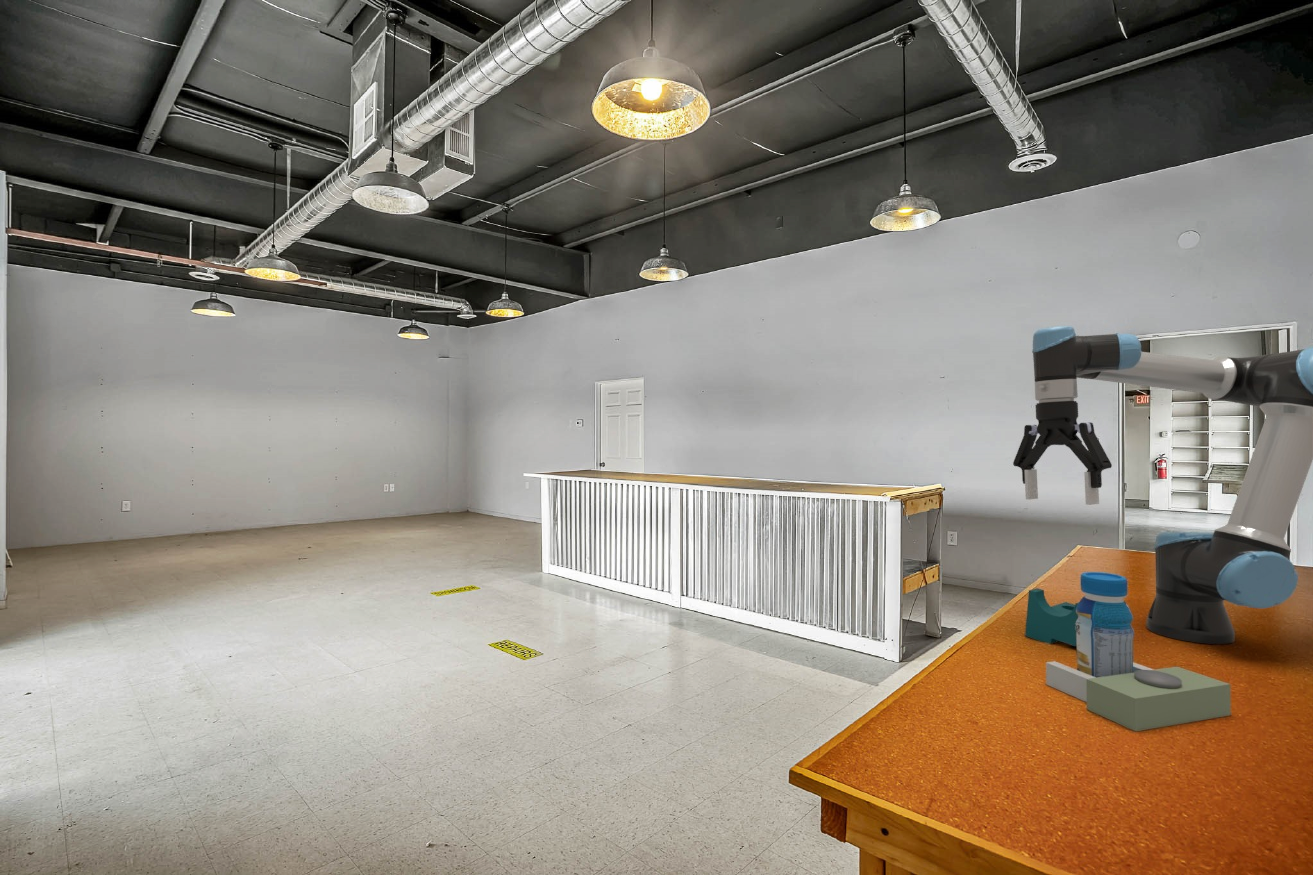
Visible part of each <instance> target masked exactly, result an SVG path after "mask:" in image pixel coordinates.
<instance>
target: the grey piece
mask: <svg viewBox="0 0 1313 875" xmlns="http://www.w3.org/2000/svg"><path fill="white" fill-rule="evenodd" d="M1045 664H1046V665H1045V680H1046V681H1045V685H1047V686H1049V687H1051V688H1053V689H1056V690H1058V691H1061V692H1063V693H1065V694H1066V695H1070V696H1071V697H1074V698H1076V699H1078V700H1080V701H1083V702H1085V703H1086V710H1087V711H1090V712H1092V713H1094V714H1096V715H1098V716H1101V717H1102V718H1105V719H1108V720H1110V721H1112V722H1114V723H1115V724H1116V723H1117V724H1118V725H1120V726H1123V727H1125V728H1127V729H1129V730H1131V731H1133V732H1140V731H1146V730H1152V729H1157V728H1164V727H1169V726H1176V725H1183V724H1187V723H1194V722H1199V721H1206V720H1209V719H1210V720H1212V719H1217V718H1222V717H1229V716H1231V715H1232V711H1231V710H1232V709H1231V708H1232V706H1231V703H1232V702H1231V701H1232V700H1231V699H1232V698H1231V696H1232V695H1231V694H1232V693H1231V690H1232V689H1231V683H1228V682H1225V681H1222V680H1219V679H1216V678H1213V677H1210V676H1207V675H1204V674H1201V673H1198V672H1195V671H1192V670H1188V669H1185V668H1183V667H1179V666H1173V667H1172V666H1171V667H1163V668H1156V669H1154V668H1150V667H1148V666H1145V665H1142V664H1140V663H1136V662H1134V661H1133V673H1126V674H1119V675H1112V676H1105V677H1097V678H1096V677H1094V676H1091V675H1088V674H1086V673H1083V672H1081V671H1078V670H1077V668H1073V667H1071V666H1068V665H1065V664H1063V663H1060V662H1057V661H1047V662H1046V663H1045Z"/></svg>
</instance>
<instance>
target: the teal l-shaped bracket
mask: <svg viewBox="0 0 1313 875" xmlns="http://www.w3.org/2000/svg"><path fill="white" fill-rule="evenodd" d="M1027 596H1028V597H1027V608H1026V609H1027V611H1026V617H1025V618H1026V620H1025V631H1024V637H1027V638H1030V639H1033V640H1035V641H1039V642H1041V643H1046V644H1050V645H1052V644H1055V643H1057V642H1062V643H1064V644H1068V645H1070V646H1074V647H1076V648H1077V639H1076V628H1075V623H1076V621H1077V619H1078V615H1077V613H1076V608H1077V605H1078V603H1079V602H1080V601H1079V602H1075V603H1071V602H1068V601H1065V602H1062V603H1058V604H1055V605H1050V604H1049V603H1048V601H1047V599H1046V597H1045V589H1041V588H1038V587H1037V588H1033V589H1028V595H1027Z"/></svg>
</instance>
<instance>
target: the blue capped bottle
mask: <svg viewBox="0 0 1313 875" xmlns="http://www.w3.org/2000/svg"><path fill="white" fill-rule="evenodd" d="M1080 590H1081V593H1082V594H1084V595H1083V597H1081V599H1080V600H1079V603H1078V602H1077V603H1078V605H1077V608H1076V613H1077V615H1078V619H1077V621H1076V623H1075V628H1076V639H1077V647H1076V670H1078V671H1081V672H1083V673H1086V674H1088V675H1091V676H1094V677H1096V678H1097V677H1105V676H1112V675H1119V674H1126V673H1133V662H1134V638H1135V630H1134V628H1133V626H1132V622H1133V620H1134V616H1133V613H1132V611H1131V608H1130V607H1129V605H1128V604H1127V603H1126V601H1125V600H1124V599H1125V598H1126V597H1127V596H1128V580H1127V578H1126V577H1125V576H1123V575H1120V574H1117V573H1111V572H1102V571H1085V572H1082V573H1081V574H1080Z"/></svg>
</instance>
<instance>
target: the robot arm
mask: <svg viewBox="0 0 1313 875" xmlns="http://www.w3.org/2000/svg"><path fill="white" fill-rule="evenodd" d="M1141 344H1142V343H1141V341H1140V339H1139V338H1138V337H1137V335H1135V334H1132V333H1118V332H1117V333H1109V334H1097V335H1094V334H1093V335H1077V334H1076V332H1075V328H1074V327H1073V326H1072V325H1071V326H1069V325H1058V326H1051V327H1045V328H1040V329H1038V330H1036V331H1034V333H1033V337H1032V351H1031V352H1032V360H1033V371H1034V372H1033V373H1034V377H1033V378H1034V399H1035V401H1038V403H1036V404H1035V419H1036V420H1037V422H1038V424H1026V425H1024V428H1023V429H1024V430H1023V437H1022V438H1021V439H1022V440H1021V441H1020V444H1019V447H1018V450H1017V452H1016V454H1015V457H1014V460H1013V462H1012V465H1013V466H1014V467H1017V468H1020V469H1021V472H1022V473H1021V476H1022V480H1021V481H1022V483H1023V485H1024V486H1025V488H1024V489H1025V500H1028V501H1029V500H1038V499H1039V492H1038V469H1037V468H1035V465H1036V464H1037V463H1038V462H1039V460H1040V459H1041V457H1042V456H1043V454H1044V453H1045V452H1046V450H1047V449H1048V448H1049V447H1051V446H1065V447H1067V448H1068V449H1070V450H1071V452H1072V453H1073V454H1074V455H1075V456H1076V457H1077V459H1078V460H1079V461H1080V463H1082V464H1083V465H1084V467H1085V468H1086V469H1087V470H1086V471H1084V473H1083V476H1084V492H1085V493H1084V495H1085V497H1084V498H1085V499H1084V500H1085V505H1087V506H1089V505H1099V504H1100V496H1099V495H1100V493H1099V489H1100V488H1102V486H1103V483H1102V478H1103V477H1102V472H1103V471H1104V470H1107V469H1111V468H1112V466H1113V465H1112V462H1111V460H1110V458H1109V456H1108V455H1107V453H1106V451H1105V449H1104V448H1103V446H1102V444H1101V442H1100V441H1099V438H1098V437H1097V435H1096V433H1095V428H1094V423H1093V422H1089V421H1088V422H1080V423H1079V424H1078V421H1077V420H1078V419H1079V402H1077V400H1076V401H1075V399H1077V398H1078V397H1079V395H1078V380H1077V379H1084V380H1085V379H1086V380H1097V381H1103V382H1111V383H1119V384H1127V385H1134V386H1144V387H1149V388H1150V387H1151V388H1157V389H1158V388H1159V389H1166V390H1174V391H1182V392H1192V393H1197V394H1203V396H1204V397H1206V398H1207V399H1210V400H1216V401H1217V400H1218V401H1224V402H1228V403H1229V402H1230V403H1235V404H1236V403H1237V404H1240V405H1241V404H1242V405H1247V406H1252V407H1253V406H1254V407H1259V409H1260V410H1261V411H1262V413H1263V414H1264V415H1265V416H1266V417H1265V419H1264V421H1263V425H1262V427H1261V431H1260V433H1259V436H1258V438H1257V441H1256V444H1255V447H1254V450H1253V453H1252V455H1251V458H1250V461H1249V463H1248V466H1247V469H1246V472H1245V474H1244V477H1243V480H1242V483H1241V486H1240V487H1239V491H1238V494H1237V497H1236V499H1235V503H1234V505H1233V507H1232V510H1231V514H1230V516H1229V518H1228V520H1227V524H1225V525H1223V526H1221V527H1218V528H1215V529H1214V531H1213V532H1181V531H1180V532H1174V531H1173V532H1171V531H1170V532H1169V531H1167V532H1160V533H1158V534H1157V535H1156V538H1155V545H1154V552H1155V553H1154V555H1155V597H1154V599H1153V601H1152V605H1151V606H1150V608H1149V612H1148V614H1147V616H1146V628H1147V630H1149V631H1150V632H1152V633H1155V634H1157V635H1159V636H1163V637H1167V638H1170V639H1175V640H1178V641H1179V640H1180V641H1185V642H1191V643H1199V644H1206V645H1207V644H1208V645H1209V644H1210V645H1211V644H1212V645H1226V644H1227V645H1228V644H1232V643H1234V642H1235V638H1236V635H1235V634H1236V632H1235V629H1234V627H1233V623H1232V621H1231V619H1230V616H1229V614H1228V612H1227V611H1228V610H1226V606H1225V604H1224V601H1225V602H1228V603H1231V604H1233V605H1237V606H1240V607H1241V606H1242V607H1247V608H1252V609H1268V608H1272V607H1274V606H1278V605H1280V604H1282V603H1284V602H1286V601H1287V600H1288V599H1289V598H1290V597H1291V596H1292V595H1293V593H1294V592H1295V590H1296V589H1297V586H1298V583H1299V582H1298V580H1299V579H1298V578H1299V575H1298V572H1297V571H1296V570H1295V569H1296V567H1295V565H1294V564H1293V562H1291V560H1289V557H1290V555H1291V552H1292V549H1291V547H1290V546H1289V545H1288V544H1287V542H1286V540H1285V536H1286V534H1287V531H1288V528H1289V527H1290V526H1289V525H1290V523H1291V520H1292V517H1293V515H1294V513H1295V509H1296V507H1297V504H1298V501H1299V499H1300V496H1301V493H1302V491H1303V487H1304V485H1305V482H1306V479H1307V476H1308V474H1309V471H1310V469H1311V466H1312V463H1313V346H1311V347H1310V346H1309V347H1307V348H1304V349H1298V350H1290V351H1283V352H1277V353H1276V352H1275V353H1268V354H1263V355H1254V356H1248V357H1247V356H1245V357H1229V356H1219V357H1216V358H1214V359H1207V358H1206V359H1205V358H1198V357H1190V356H1181V355H1180V356H1179V355H1171V354H1163V353H1155V352H1148V351H1147V352H1146V351H1142V345H1141ZM1078 433H1079V434H1080V437H1081V438H1080V437H1079V436H1078V435H1077V434H1078ZM1038 434H1039V436H1038ZM1083 443H1084V444H1083Z"/></svg>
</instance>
